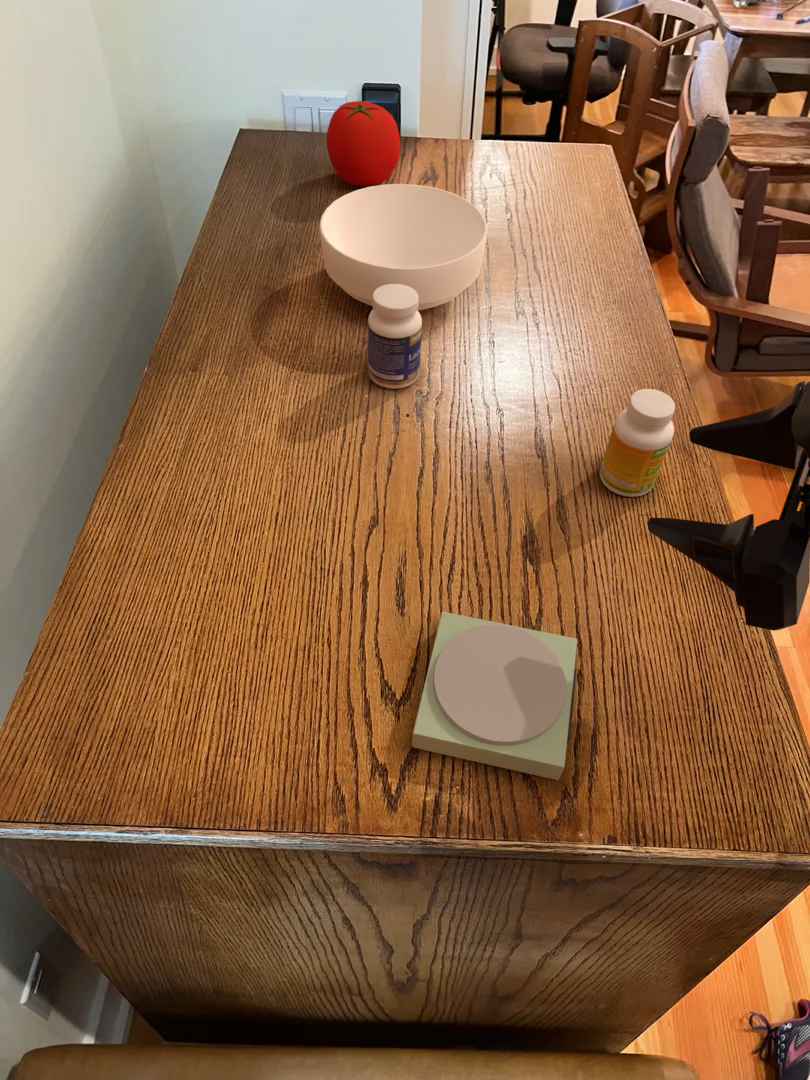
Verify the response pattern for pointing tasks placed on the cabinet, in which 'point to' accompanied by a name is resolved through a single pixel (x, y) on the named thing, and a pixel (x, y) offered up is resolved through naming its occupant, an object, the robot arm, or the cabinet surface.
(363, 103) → the tomato
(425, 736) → the scale
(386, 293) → the pill bottle
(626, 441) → the supplement bottle
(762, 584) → the robot arm
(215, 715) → the cabinet surface
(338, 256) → the bowl
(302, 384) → the cabinet surface
